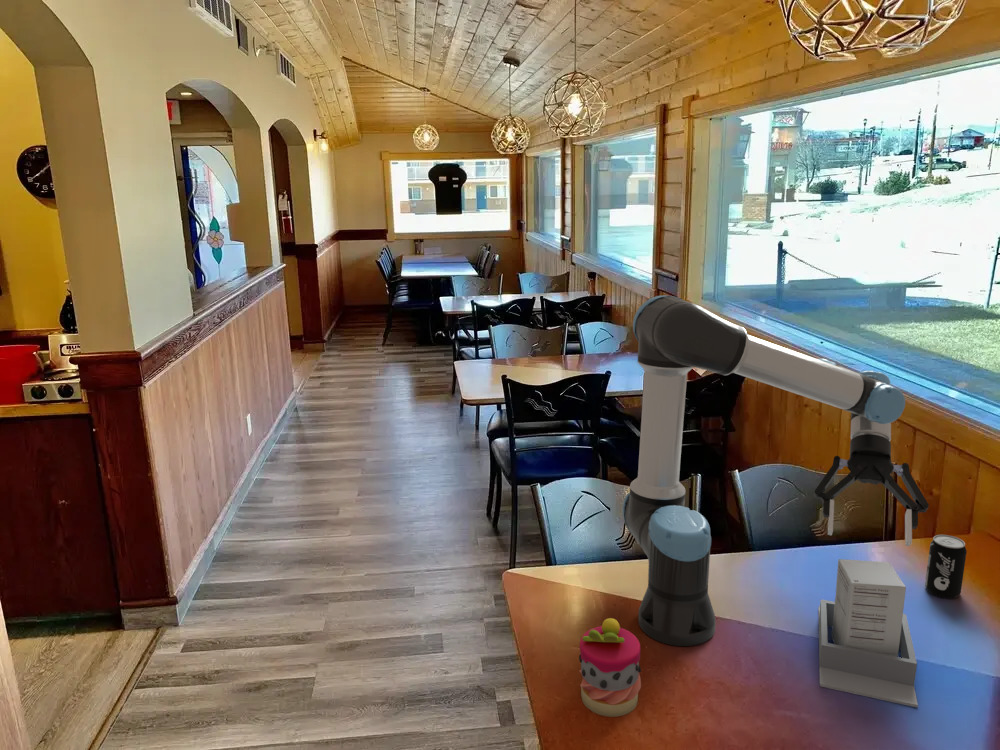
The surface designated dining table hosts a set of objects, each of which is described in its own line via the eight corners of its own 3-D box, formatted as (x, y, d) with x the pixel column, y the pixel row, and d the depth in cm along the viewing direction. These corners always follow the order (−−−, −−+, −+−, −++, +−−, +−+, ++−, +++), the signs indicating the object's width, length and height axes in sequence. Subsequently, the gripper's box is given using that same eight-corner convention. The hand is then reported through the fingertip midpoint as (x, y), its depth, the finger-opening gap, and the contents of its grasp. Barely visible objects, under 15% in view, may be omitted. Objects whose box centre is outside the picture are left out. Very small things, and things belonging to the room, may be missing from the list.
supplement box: (897, 671, 128) (908, 587, 124) (842, 666, 130) (851, 583, 125) (881, 639, 137) (890, 560, 133) (830, 635, 139) (837, 557, 135)
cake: (578, 675, 129) (578, 602, 125) (637, 678, 128) (639, 604, 124) (579, 716, 119) (579, 638, 115) (642, 719, 118) (644, 640, 114)
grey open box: (819, 686, 125) (822, 661, 123) (818, 608, 148) (820, 586, 146) (917, 707, 119) (921, 681, 118) (900, 623, 142) (902, 600, 141)
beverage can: (967, 599, 149) (974, 547, 146) (935, 600, 149) (942, 548, 146) (948, 583, 156) (955, 533, 153) (918, 583, 156) (924, 533, 153)
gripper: (935, 455, 146) (939, 554, 136) (804, 442, 156) (798, 534, 146) (943, 438, 140) (947, 541, 130) (806, 426, 150) (800, 521, 140)
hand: (868, 538), depth 138 cm, fingers open, 13 cm apart
